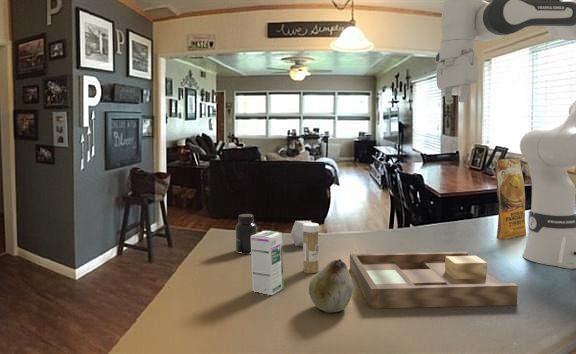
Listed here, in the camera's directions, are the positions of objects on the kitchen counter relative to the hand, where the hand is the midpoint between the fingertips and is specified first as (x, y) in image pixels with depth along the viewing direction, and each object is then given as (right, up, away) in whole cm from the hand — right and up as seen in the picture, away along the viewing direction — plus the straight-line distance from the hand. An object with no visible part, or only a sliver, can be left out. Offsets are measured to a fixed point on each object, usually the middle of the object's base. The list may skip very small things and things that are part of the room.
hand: (455, 103), depth 127 cm
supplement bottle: (-61, -45, +19) cm, 78 cm away
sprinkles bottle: (-41, -47, -1) cm, 63 cm away
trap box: (-13, -48, -13) cm, 52 cm away
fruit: (-38, -50, -27) cm, 69 cm away
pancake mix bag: (+33, -42, +36) cm, 65 cm away
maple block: (-2, -46, -13) cm, 47 cm away
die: (-42, -44, +26) cm, 66 cm away
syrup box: (-52, -49, -16) cm, 73 cm away
